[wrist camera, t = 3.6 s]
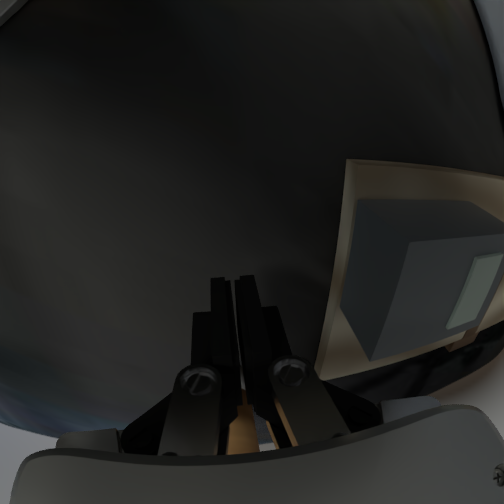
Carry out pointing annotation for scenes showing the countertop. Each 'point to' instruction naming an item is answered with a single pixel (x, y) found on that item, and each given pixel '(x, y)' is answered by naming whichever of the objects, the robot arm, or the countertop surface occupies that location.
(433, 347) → the board
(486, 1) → the plastic bottle
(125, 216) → the countertop surface
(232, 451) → the orange brown cylinder
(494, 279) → the block
